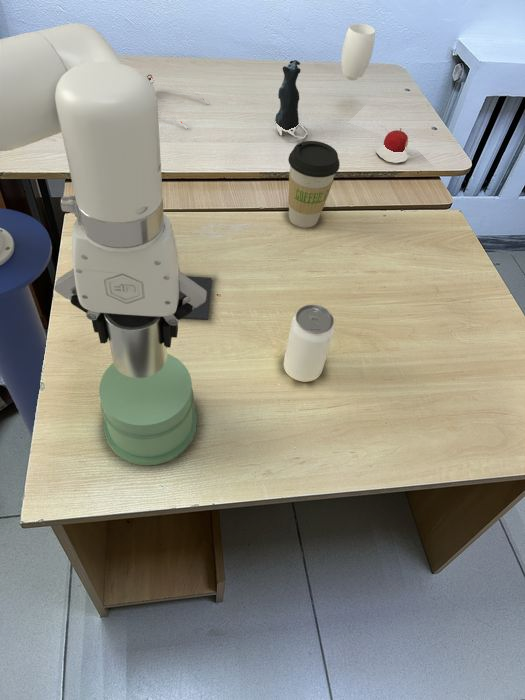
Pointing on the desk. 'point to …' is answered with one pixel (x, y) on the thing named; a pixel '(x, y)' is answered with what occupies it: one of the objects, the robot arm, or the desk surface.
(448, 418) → the desk surface
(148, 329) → the silver cup
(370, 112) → the desk surface
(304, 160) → the coffee cup
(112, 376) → the green short cylinder
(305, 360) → the can
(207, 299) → the mat
